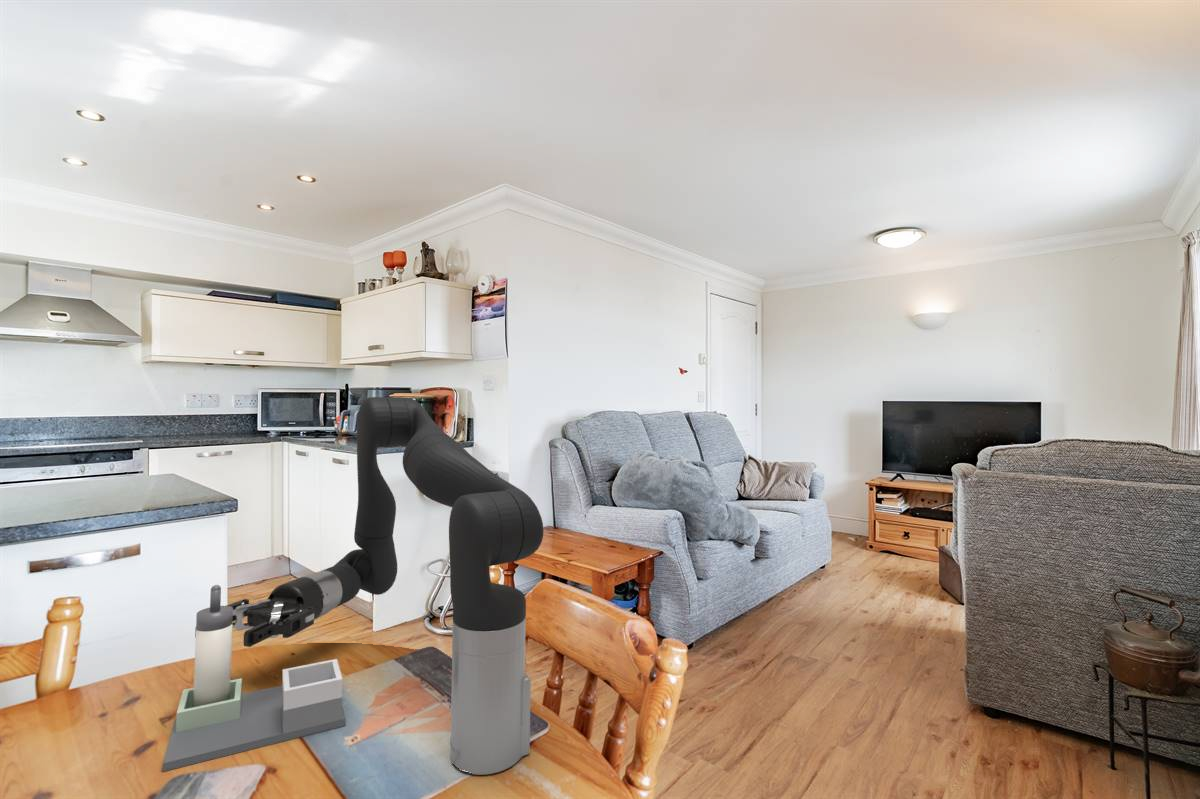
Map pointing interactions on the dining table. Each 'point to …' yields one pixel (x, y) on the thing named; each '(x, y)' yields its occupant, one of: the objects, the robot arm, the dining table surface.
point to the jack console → (257, 715)
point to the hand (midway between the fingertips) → (221, 636)
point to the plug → (213, 652)
